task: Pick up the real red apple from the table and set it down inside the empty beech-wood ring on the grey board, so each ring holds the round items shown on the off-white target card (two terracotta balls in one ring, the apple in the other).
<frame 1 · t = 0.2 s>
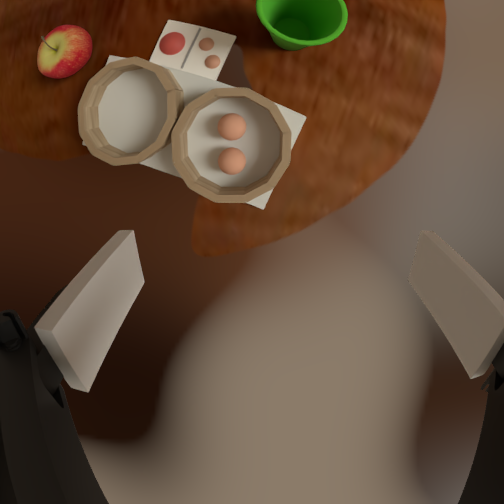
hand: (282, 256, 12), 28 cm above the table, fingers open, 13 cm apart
ring a: (233, 142, 35), resting on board
ring b: (134, 110, 32), resting on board
cup: (290, 34, 28), on the table
ball 2: (233, 159, 36), point 1 cm above the table, touching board
target card: (191, 48, 29), on the table
ball 1: (233, 126, 34), point 1 cm above the table, touching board
apple: (81, 54, 28), on the table
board: (184, 124, 34), on the table
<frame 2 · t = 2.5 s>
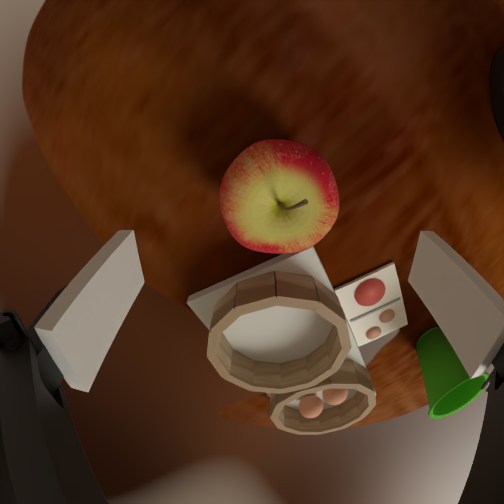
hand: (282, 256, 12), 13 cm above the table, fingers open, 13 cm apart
ring a: (321, 390, 36), resting on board
ring b: (278, 327, 30), resting on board
cup: (430, 338, 33), on the table
ball 2: (309, 397, 36), point 1 cm above the table, touching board
target card: (374, 307, 30), on the table
ball 1: (333, 382, 35), point 1 cm above the table, touching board
apple: (275, 181, 24), on the table
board: (301, 356, 34), on the table
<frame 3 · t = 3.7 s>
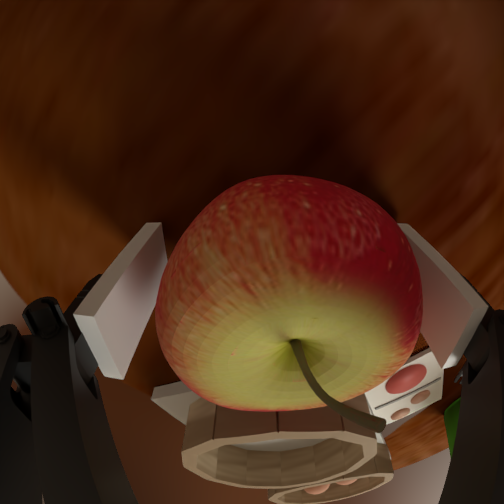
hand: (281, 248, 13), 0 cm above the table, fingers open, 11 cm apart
ring a: (329, 465, 25), resting on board
ring b: (278, 425, 19), resting on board
cup: (460, 402, 22), on the table
ball 2: (314, 470, 26), point 1 cm above the table, touching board
target card: (407, 390, 19), on the table
ball 1: (343, 459, 24), point 1 cm above the table, touching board
apple: (280, 241, 13), on the table
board: (308, 440, 23), on the table
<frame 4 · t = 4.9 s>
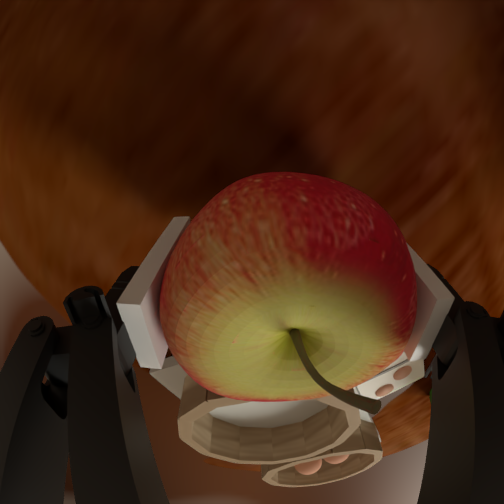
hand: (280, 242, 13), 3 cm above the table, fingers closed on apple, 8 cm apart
ring a: (319, 445, 28), resting on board
ring b: (267, 398, 22), resting on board
ball 2: (306, 451, 28), point 1 cm above the table, touching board
target card: (388, 365, 22), on the table
ball 1: (333, 438, 27), point 1 cm above the table, touching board
apple: (280, 237, 14), point 2 cm above the table, touching gripper
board: (297, 417, 26), on the table
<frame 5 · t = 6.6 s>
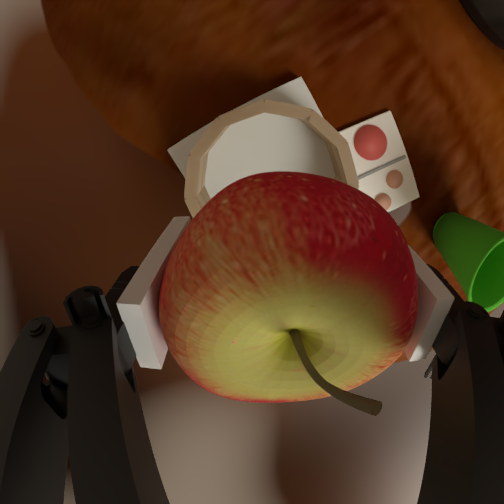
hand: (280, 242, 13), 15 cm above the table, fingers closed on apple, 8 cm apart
ring b: (270, 178, 26), resting on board
cup: (446, 229, 29), on the table
target card: (378, 166, 26), on the table
apple: (280, 237, 14), point 15 cm above the table, touching gripper
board: (301, 235, 30), on the table
when the fingers open (6 cm above the table, at t = 8.4 s): apple drops 4 cm, resting on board.
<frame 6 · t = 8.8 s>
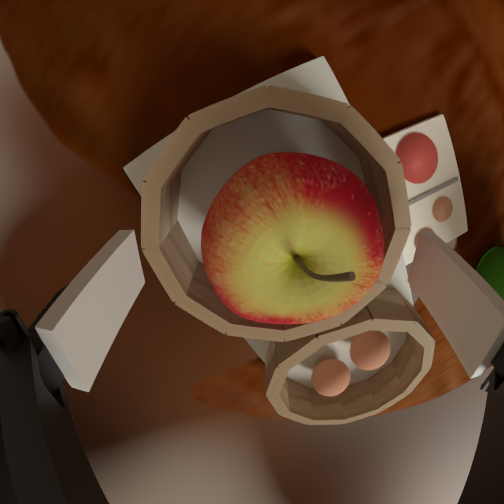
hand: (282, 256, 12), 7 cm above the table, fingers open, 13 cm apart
ring a: (345, 349, 23), resting on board
ring b: (274, 210, 17), resting on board
cup: (489, 267, 21), on the table
ball 2: (327, 363, 24), point 1 cm above the table, touching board
target card: (424, 192, 18), on the table
ball 1: (364, 335, 22), point 1 cm above the table, touching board
apple: (284, 208, 18), point 1 cm above the table, touching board
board: (315, 284, 21), on the table
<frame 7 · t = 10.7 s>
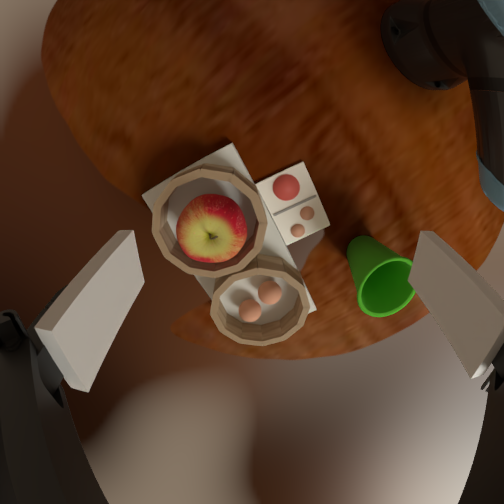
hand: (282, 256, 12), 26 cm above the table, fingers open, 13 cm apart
ring a: (259, 295, 44), resting on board
ring b: (211, 216, 38), resting on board
cup: (360, 249, 42), on the table
ball 2: (249, 303, 44), point 1 cm above the table, touching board
target card: (294, 204, 38), on the table
ball 1: (268, 286, 43), point 1 cm above the table, touching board
apple: (215, 215, 38), point 1 cm above the table, touching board
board: (236, 254, 42), on the table
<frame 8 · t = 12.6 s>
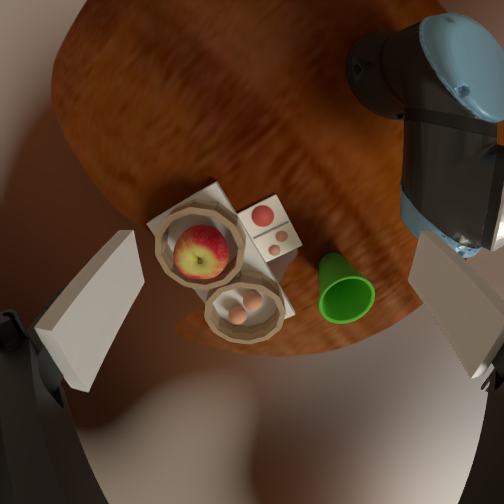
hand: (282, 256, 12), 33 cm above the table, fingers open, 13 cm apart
ring a: (245, 302, 52), resting on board
ring b: (202, 240, 47), resting on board
cup: (331, 264, 50), on the table
ball 2: (238, 309, 53), point 1 cm above the table, touching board
target card: (270, 229, 47), on the table
ball 1: (252, 295, 52), point 1 cm above the table, touching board
apple: (206, 239, 47), point 1 cm above the table, touching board
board: (225, 269, 51), on the table
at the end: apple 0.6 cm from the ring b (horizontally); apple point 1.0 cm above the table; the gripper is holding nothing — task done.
